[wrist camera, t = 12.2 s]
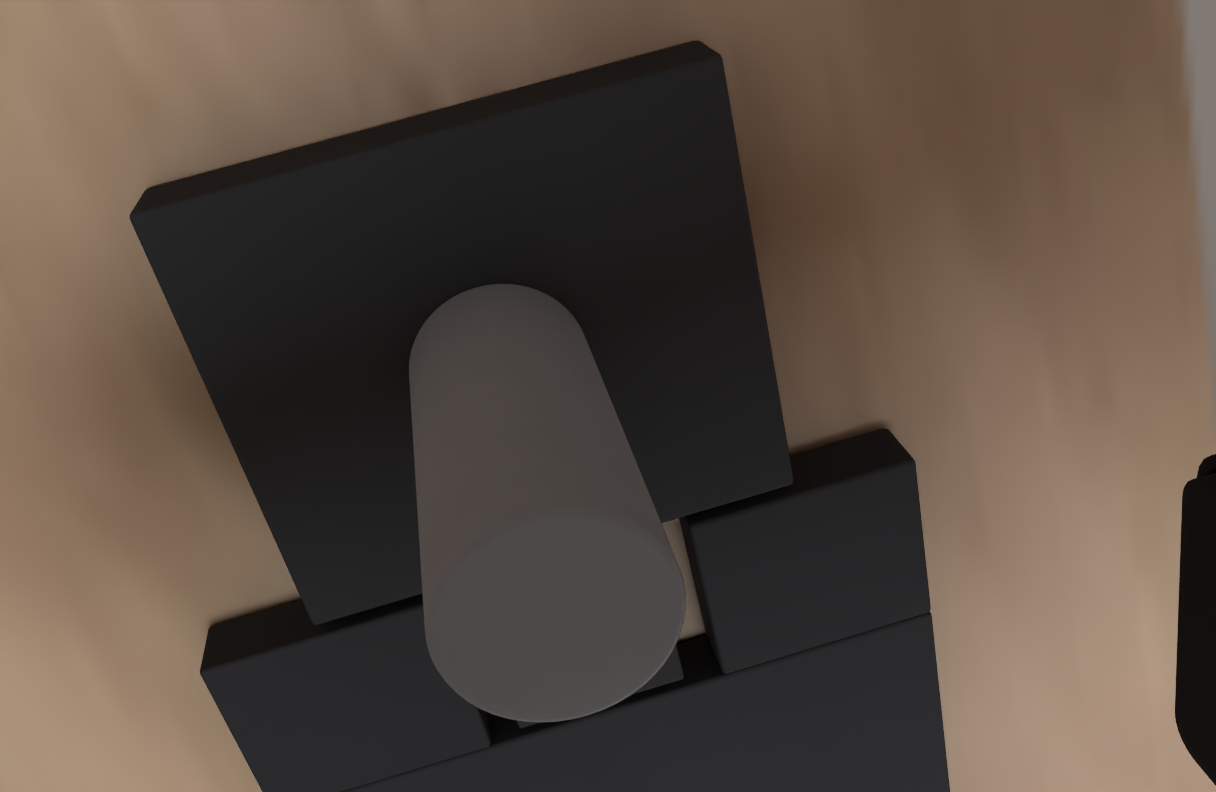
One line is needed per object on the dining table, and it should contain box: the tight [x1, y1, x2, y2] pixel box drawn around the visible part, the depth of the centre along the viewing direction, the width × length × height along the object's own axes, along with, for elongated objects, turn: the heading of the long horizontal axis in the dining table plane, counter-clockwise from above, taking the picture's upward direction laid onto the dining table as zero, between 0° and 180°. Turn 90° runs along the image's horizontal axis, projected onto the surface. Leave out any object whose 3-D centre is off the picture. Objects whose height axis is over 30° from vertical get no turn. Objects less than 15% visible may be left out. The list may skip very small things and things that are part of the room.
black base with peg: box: [130, 41, 793, 728], centre depth 15 cm, size 8×10×7 cm
